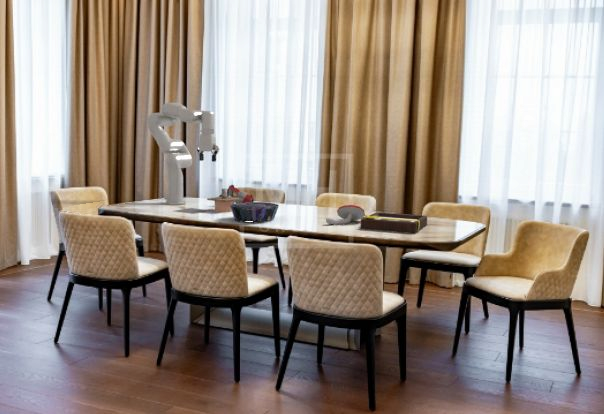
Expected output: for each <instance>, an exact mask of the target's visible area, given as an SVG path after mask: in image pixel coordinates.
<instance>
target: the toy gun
mask: <svg viewBox="0 0 604 414" xmlns="http://www.w3.org/2000/svg"><path fill="white" fill-rule="evenodd" d="M226 189H227V197H234V198H241V200H236V201H234V203H246V202H255V196H253V195H252V194H249V193H246V191H243V190H241V189H239V188H238V187H235V185H234V184H231V185H229V186H228V187H227V188H226ZM234 194H236V195H234ZM218 197H222V193H220V195H219V196H218Z"/></svg>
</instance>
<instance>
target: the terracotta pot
mask: <svg viewBox="0 0 604 414" xmlns="http://www.w3.org/2000/svg"><path fill="white" fill-rule="evenodd" d="M234 203H235V202H234V201H230V202H221V201H214V212H216V213H232V210H231V207H230V206H229V205H231V204H234Z"/></svg>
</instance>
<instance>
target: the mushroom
mask: <svg viewBox="0 0 604 414" xmlns="http://www.w3.org/2000/svg"><path fill="white" fill-rule="evenodd" d="M336 213H337V216H338V217H340V218H334V217H326V218H325V222H326V223H327V224H328V225H331V224H338V225H345V224H346V223H347V224H349V223H350V222H351V221H358V220H361V219H362V218H363V217H365V216H364V215H366V214H365V210H364V209H363V208H362V207H361V206H359V205H355V204H346V205H343V206H339V207H338V209H337V210H336Z"/></svg>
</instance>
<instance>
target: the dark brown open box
mask: <svg viewBox="0 0 604 414" xmlns="http://www.w3.org/2000/svg"><path fill="white" fill-rule="evenodd" d="M427 225H428V216H427V215H422V214H410V213H409V214H407V213H394V212H381V211H380V212H379V211H376V212H374V213H372V214H365V215H364V217H363V218H362V219H360V228H361V229H360V230H368V229H370V231H380V230H382V232H392V231H396V232H395V233H404V232H409V233H408V234H416V232H417V233H418V232H420V231H421V230H422V229H424V228H425V227H427Z"/></svg>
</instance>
